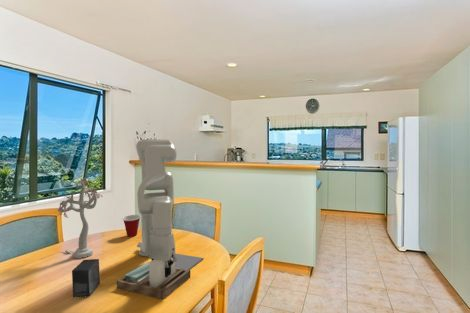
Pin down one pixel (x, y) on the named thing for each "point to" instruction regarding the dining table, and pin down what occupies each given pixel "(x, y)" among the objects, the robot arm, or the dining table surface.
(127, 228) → the plastic cup
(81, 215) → the tree sculpture
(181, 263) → the rubber mat
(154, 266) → the white rectangular block
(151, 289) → the walnut rack
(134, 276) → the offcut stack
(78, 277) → the small box
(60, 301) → the dining table surface
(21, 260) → the dining table surface
